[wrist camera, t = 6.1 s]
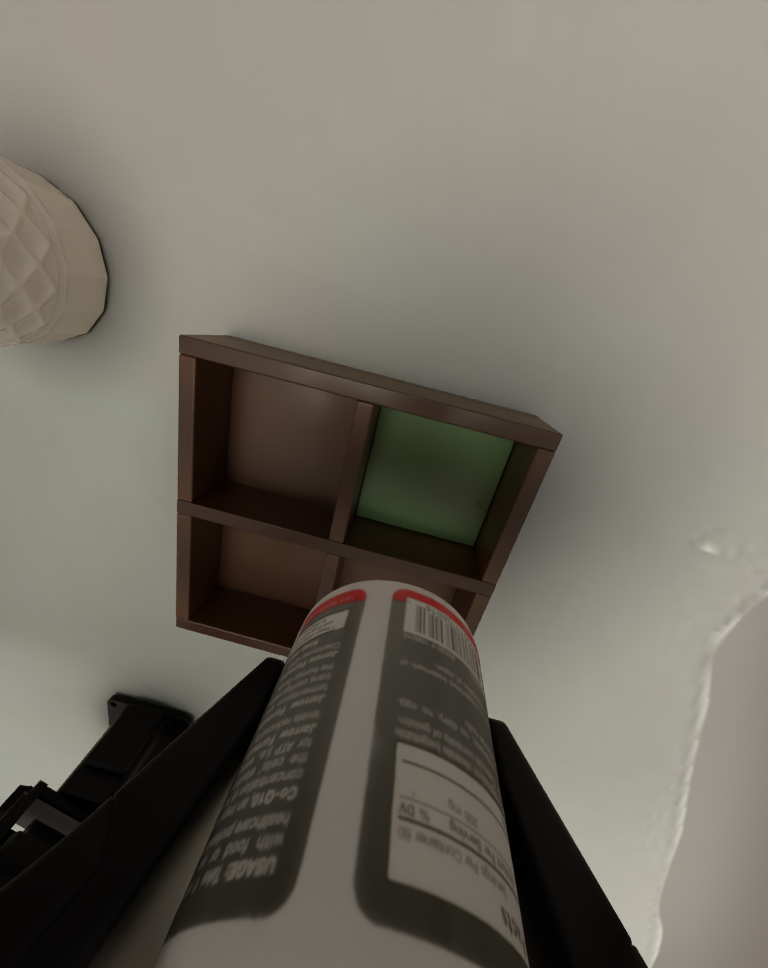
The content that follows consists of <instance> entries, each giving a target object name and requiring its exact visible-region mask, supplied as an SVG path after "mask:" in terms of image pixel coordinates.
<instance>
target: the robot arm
mask: <svg viewBox="0 0 768 968" xmlns="http://www.w3.org/2000/svg"><path fill="white" fill-rule="evenodd" d="M284 665H285V664H284V662H283V661H282V660H278V659H274V658H270V657H269V658H267V659H265V660H264V661H263V662H262V663H260V664H259V665H258V666H257V667H256V668H255V669H254V670H253V671H251V672H250V673H249V674H248V675H247V676H246V677H245V678H244V679H242V680H241V681H240V682H239V683H238V684H237V685H236V686H235V687H234V688H232V689H231V690H230V691H229V692H228V693H227V694H226V695H225V696H223V697H222V698H221V699H220V700H219V701H218V702H217V703H216V704H214V705H213V706H212V707H211V708H210V709H209V710H208V711H207V712H205V713H204V714H203V715H202V716H201V717H200V718H199V719H198V720H196V721H195V722H194V723H193V720H192V718H191V716H189V715H187V714H184V713H180V712H176V711H173V710H169V709H166V708H162V707H158V706H155V705H151V704H148V703H144V702H140V701H137V700H133V699H130V698H126V697H122V696H119V695H113V696H112V697H111V698H110V699H109V700H108V702H107V705H108V715H109V725H110V727H109V728H108V730H107V731H106V732H105V733H104V734H103V736H102V737H101V738H100V739H99V740H98V742H97V743H96V744H95V745H94V747H93V748H92V749H91V750H90V751H89V753H88V754H87V755H86V756H85V757H84V759H83V760H82V761H81V762H80V764H79V765H78V766H77V767H76V768H75V770H74V771H73V772H72V773H71V775H70V776H69V777H68V778H67V779H66V781H65V782H64V783H63V784H62V785H61V787H60V788H59V789H58V790H57V792H56V791H54V790H53V789H51V788H49V787H47V785H48V784H47V783H45V782H43V781H41V780H40V781H39V782H38V783H37V784H36V785H35V786H34V787H32V786H24V785H20V786H19V787H18V788H17V789H16V790H15V791H14V792H13V793H12V794H11V795H10V796H9V798H8V799H7V800H6V801H5V802H4V803H3V804H2V805H1V806H0V968H154V966H155V963H156V961H157V958H158V956H159V953H160V951H161V948H162V945H163V943H164V941H165V938H166V936H167V933H168V931H169V929H170V926H171V924H172V921H173V919H174V916H175V914H176V912H177V910H178V908H179V906H180V904H181V901H182V899H183V897H184V894H185V892H186V890H187V887H188V885H189V883H190V880H191V878H192V876H193V873H194V871H195V869H196V866H197V864H198V862H199V860H200V857H201V855H202V853H203V850H204V848H205V846H206V843H207V841H208V839H209V837H210V834H211V832H212V830H213V827H214V825H215V823H216V820H217V818H218V816H219V814H220V811H221V809H222V807H223V804H224V802H225V800H226V798H227V795H228V793H229V791H230V788H231V786H232V784H233V781H234V779H235V777H236V774H237V772H238V770H239V768H240V765H241V763H242V761H243V758H244V756H245V754H246V752H247V749H248V747H249V745H250V742H251V740H252V738H253V736H254V733H255V731H256V729H257V726H258V724H259V722H260V719H261V717H262V715H263V713H264V710H265V708H266V706H267V704H268V701H269V699H270V697H271V694H272V692H273V690H274V687H275V685H276V683H277V681H278V679H279V677H280V675H281V672H282V670H283V667H284ZM489 724H490V730H491V737H492V743H493V749H494V756H495V762H496V768H497V774H498V780H499V787H500V793H501V798H502V804H503V809H504V814H505V822H506V828H507V835H508V840H509V846H510V853H511V859H512V865H513V870H514V876H515V882H516V889H517V895H518V901H519V907H520V913H521V919H522V926H523V932H524V938H525V945H526V951H527V956H528V962H529V967H530V968H648V967H647V965H646V964H645V962H644V960H643V958H642V957H641V955H640V953H639V952H638V950H637V948H636V947H635V946H634V945H632V941H631V938H630V936H629V935H628V933H627V931H626V930H625V928H624V926H623V924H622V923H621V921H620V919H619V918H618V916H617V914H616V912H615V911H614V909H613V907H612V906H611V904H610V902H609V900H608V899H607V897H606V895H605V894H604V892H603V890H602V888H601V887H600V885H599V883H598V882H597V880H596V878H595V876H594V875H593V873H592V871H591V870H590V868H589V866H588V864H587V863H586V861H585V859H584V858H583V856H582V854H581V852H580V851H579V849H578V847H577V846H576V844H575V842H574V840H573V839H572V837H571V835H570V834H569V832H568V830H567V828H566V827H565V825H564V823H563V821H562V820H561V818H560V816H559V815H558V813H557V811H556V809H555V808H554V806H553V804H552V803H551V801H550V799H549V797H548V796H547V794H546V792H545V791H544V789H543V787H542V785H541V784H540V782H539V780H538V779H537V777H536V775H535V773H534V772H533V770H532V768H531V767H530V765H529V763H528V761H527V760H526V758H525V756H524V755H523V753H522V751H521V749H520V748H519V746H518V744H517V743H516V741H515V739H514V737H513V736H512V734H511V732H510V731H509V729H508V727H507V726H506V724H505V723H504V722H502V721H499V720H496V719H492V718H489ZM15 823H16V824H18V825H19V826H21V827H23V828H25V830H24V831H23V832H22V831H18V832H15V831H14V830H12V829H11V828H12V827H13V826H14V824H15Z"/></svg>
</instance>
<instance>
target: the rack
mask: <svg viewBox="0 0 768 968" xmlns="http://www.w3.org/2000/svg"><path fill="white" fill-rule="evenodd" d="M179 352H180V353H181V354H180V355H179V429H178V500H177V512H178V513H177V582H176V626H177V627H180V628H184V629H187V630H191V631H195V632H198V633H202V634H206V635H209V636H213V637H216V638H220V639H224V640H227V641H231V642H235V643H238V644H242V645H246V646H249V647H253V648H257V649H260V650H264V651H268V652H271V653H275V654H278V655H282V656H286V657H288V656H289V654H290V651H291V649H292V647H293V645H294V642H295V640H296V638H297V635H298V633H299V631H300V629H301V627H302V625H303V623H304V621H305V619H306V617H307V616H308V614H309V613H310V611H311V610H312V608H313V607H314V606H315V605H316V604H317V603H318V602H319V601H320V600H321V599H322V598H324V597H325V596H327V595H328V594H329V593H331V592H333V591H335V590H337V589H339V588H341V587H343V586H346V585H349V584H352V583H356V582H361V581H368V580H387V581H396V582H401V583H406V584H410V585H413V586H416V587H420V588H422V589H424V590H427V591H429V592H431V593H433V594H435V595H437V596H438V597H440V598H441V599H443V600H444V601H446V602H447V603H448V604H449V605H451V606H452V607H453V608H454V609H455V610H456V611H457V612H458V613H459V614H460V616H461V617H462V618H463V619H464V621H465V622H466V624H467V625H468V627H469V629H470V631H471V633H472V635H474V633H475V631H476V629H477V626H478V624H479V622H480V620H481V617H482V615H483V613H484V611H485V609H486V606H487V604H488V602H489V600H490V597H491V595H492V593H493V591H494V589H495V586H496V584H497V581H498V579H499V577H500V575H501V573H502V570H503V568H504V566H505V564H506V561H507V559H508V557H509V555H510V552H511V550H512V548H513V546H514V543H515V541H516V539H517V537H518V534H519V532H520V530H521V528H522V526H523V523H524V521H525V519H526V517H527V514H528V512H529V510H530V508H531V505H532V503H533V501H534V499H535V496H536V494H537V492H538V490H539V487H540V485H541V483H542V481H543V478H544V476H545V474H546V472H547V470H548V467H549V465H550V463H551V461H552V458H553V456H554V454H555V452H554V451H556V449H557V447H558V445H559V443H560V440H561V438H562V434H561V433H560V432H558V431H557V430H555V429H554V428H552V427H551V426H550V425H548V424H547V423H545V422H544V421H543V420H541V419H540V418H538V417H537V416H535V415H531V414H527V413H523V412H520V411H516V410H512V409H508V408H504V407H500V406H497V405H493V404H489V403H485V402H481V401H477V400H474V399H470V398H466V397H462V396H458V395H454V394H451V393H447V392H443V391H439V390H435V389H431V388H428V387H424V386H420V385H416V384H412V383H408V382H405V381H401V380H397V379H393V378H389V377H385V376H382V375H378V374H374V373H370V372H366V371H362V370H359V369H355V368H351V367H347V366H343V365H339V364H336V363H332V362H328V361H324V360H320V359H316V358H313V357H309V356H305V355H301V354H297V353H293V352H289V351H286V350H282V349H278V348H274V347H270V346H266V345H263V344H259V343H255V342H251V341H247V340H243V339H240V338H236V337H232V336H228V335H180V336H179Z"/></svg>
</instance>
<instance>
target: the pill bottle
mask: <svg viewBox="0 0 768 968" xmlns="http://www.w3.org/2000/svg"><path fill="white" fill-rule="evenodd" d="M154 968H530V967H529V962H528V956H527V951H526V945H525V938H524V932H523V926H522V919H521V913H520V907H519V901H518V895H517V889H516V882H515V876H514V870H513V865H512V859H511V853H510V846H509V840H508V835H507V828H506V822H505V814H504V809H503V804H502V798H501V793H500V787H499V780H498V774H497V768H496V762H495V756H494V749H493V743H492V737H491V730H490V724H489V718H488V713H487V706H486V700H485V694H484V687H483V680H482V674H481V668H480V660H479V656H478V652H477V647H476V644H475V640H474V638H473V635H472V633H471V631H470V629H469V627H468V625H467V624H466V622H465V621H464V619H463V618H462V617H461V616H460V614H459V613H458V612H457V611H456V610H455V609H454V608H453V607H452V606H451V605H449V604H448V603H447V602H446V601H444V600H443V599H441V598H440V597H438V596H437V595H435V594H433V593H431V592H429V591H427V590H424V589H422V588H420V587H416V586H413V585H410V584H406V583H401V582H396V581H387V580H368V581H361V582H356V583H352V584H349V585H346V586H343V587H341V588H339V589H337V590H335V591H333V592H331V593H329V594H328V595H327V596H325V597H324V598H322V599H321V600H320V601H319V602H318V603H317V604H316V605H315V606H314V607H313V608H312V610H311V611H310V613H309V614H308V616H307V617H306V619H305V621H304V623H303V625H302V627H301V629H300V631H299V633H298V635H297V638H296V640H295V642H294V645H293V647H292V649H291V651H290V654H289V656H288V658H287V660H286V663H285V665H284V667H283V670H282V672H281V675H280V677H279V679H278V681H277V683H276V685H275V687H274V690H273V692H272V694H271V697H270V699H269V701H268V704H267V706H266V708H265V710H264V713H263V715H262V717H261V719H260V722H259V724H258V726H257V729H256V731H255V733H254V736H253V738H252V740H251V742H250V745H249V747H248V749H247V752H246V754H245V756H244V758H243V761H242V763H241V765H240V768H239V770H238V772H237V774H236V777H235V779H234V781H233V784H232V786H231V788H230V791H229V793H228V795H227V798H226V800H225V802H224V804H223V807H222V809H221V811H220V814H219V816H218V818H217V820H216V823H215V825H214V827H213V830H212V832H211V834H210V837H209V839H208V841H207V843H206V846H205V848H204V850H203V853H202V855H201V857H200V860H199V862H198V864H197V866H196V869H195V871H194V873H193V876H192V878H191V880H190V883H189V885H188V887H187V890H186V892H185V894H184V897H183V899H182V901H181V904H180V906H179V908H178V910H177V912H176V914H175V916H174V919H173V921H172V924H171V926H170V929H169V931H168V933H167V936H166V938H165V941H164V943H163V945H162V948H161V951H160V953H159V956H158V958H157V961H156V963H155V966H154Z"/></svg>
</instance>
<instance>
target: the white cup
mask: <svg viewBox="0 0 768 968" xmlns="http://www.w3.org/2000/svg"><path fill="white" fill-rule="evenodd" d="M107 280H108V277H107V273H106V269H105V265H104V261H103V257H102V253H101V250H100V246H99V242H98V239H97V237H96V236H95V234H94V232H93V231H92V229H91V228H90V226H89V225H88V223H87V221H86V220H85V218H84V217H83V215H82V214H81V212H80V211H79V209H78V207H77V206H76V204H75V203H74V202H73V201H72V200H71V199H69V198H68V197H67V196H66V195H64V194H63V193H62V192H61V191H59V190H58V189H57V188H55V187H54V186H53V185H52V184H50V183H49V182H48V181H47V180H45V179H44V178H43V177H41V176H40V175H38V174H36V173H34V172H32V171H30V170H28V169H26V168H23V167H21V166H19V165H17V164H15V163H13V162H10V161H8V160H6V159H4V158H2V157H0V347H1V346H9V345H16V344H20V343H33V342H55V341H63V340H66V339H70V338H73V337H76V336H79V335H82V334H86V333H87V332H88V331H89V330H90V328H91V327H92V326H93V324H94V323H95V322H96V320H97V319H98V318H99V316H100V315H101V314H102V312H103V311H104V304H105V296H106V288H107Z"/></svg>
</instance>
